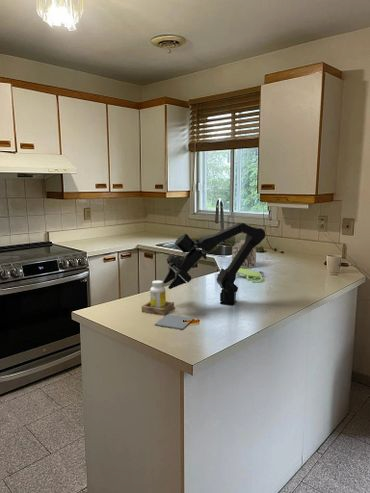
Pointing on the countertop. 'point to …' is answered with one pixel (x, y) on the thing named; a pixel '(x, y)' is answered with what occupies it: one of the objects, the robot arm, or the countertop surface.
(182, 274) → the robot arm
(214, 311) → the countertop surface
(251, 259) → the decorative jar
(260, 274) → the figurine
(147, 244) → the countertop surface
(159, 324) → the slate mat
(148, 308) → the walnut holder
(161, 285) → the supplement bottle
